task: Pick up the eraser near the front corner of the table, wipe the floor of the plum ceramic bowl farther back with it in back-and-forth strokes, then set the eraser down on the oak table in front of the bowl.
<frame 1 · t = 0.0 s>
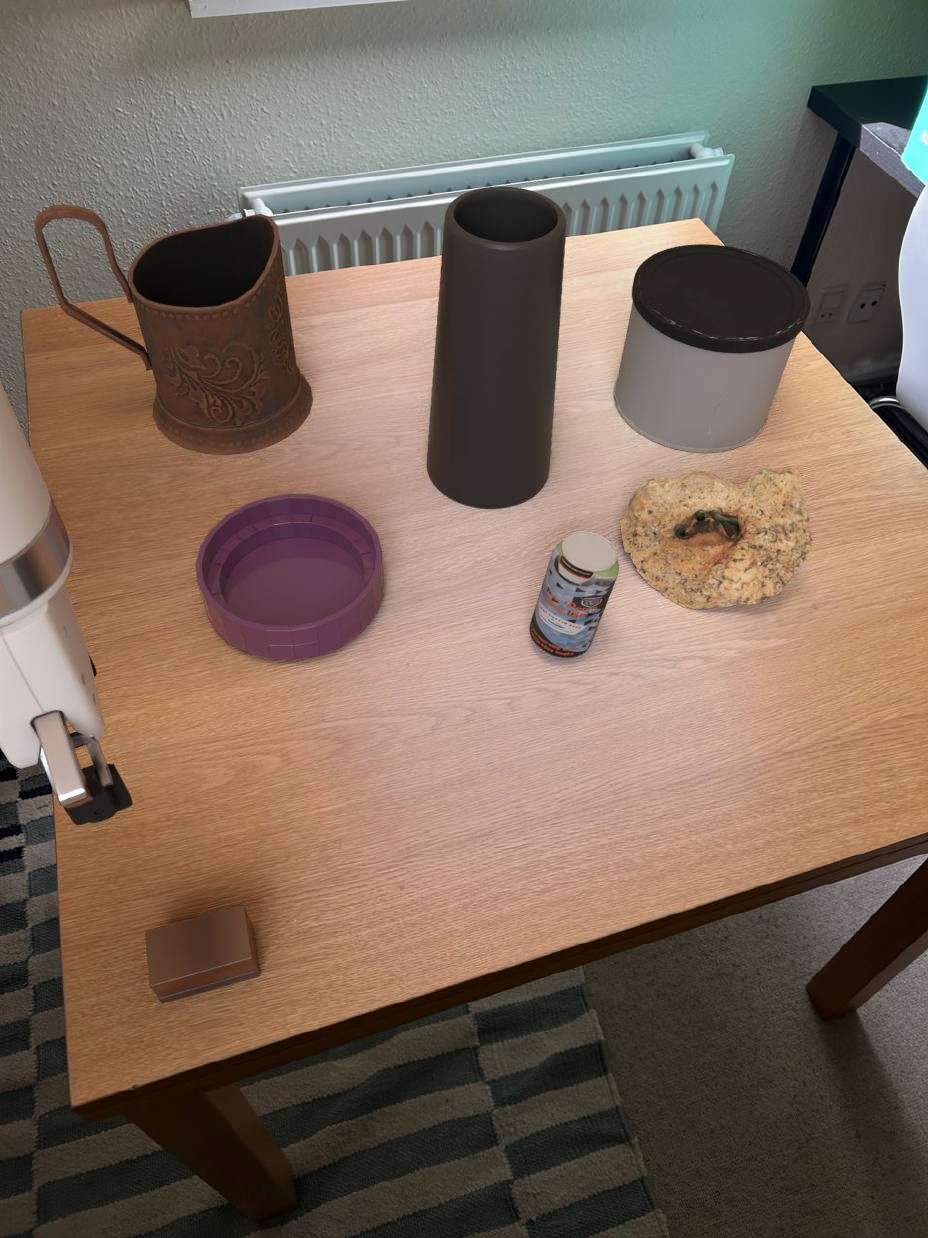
hand: (87, 743, 54), 21 cm above the table, tool pointing down, fingers open, 9 cm apart
vase: (487, 467, 102), on the table
bowl: (295, 592, 90), on the table
beige rock: (703, 565, 94), on the table
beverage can: (564, 638, 87), on the table
container: (689, 402, 110), on the table
cup holder: (209, 407, 107), on the table
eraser: (208, 963, 67), on the table
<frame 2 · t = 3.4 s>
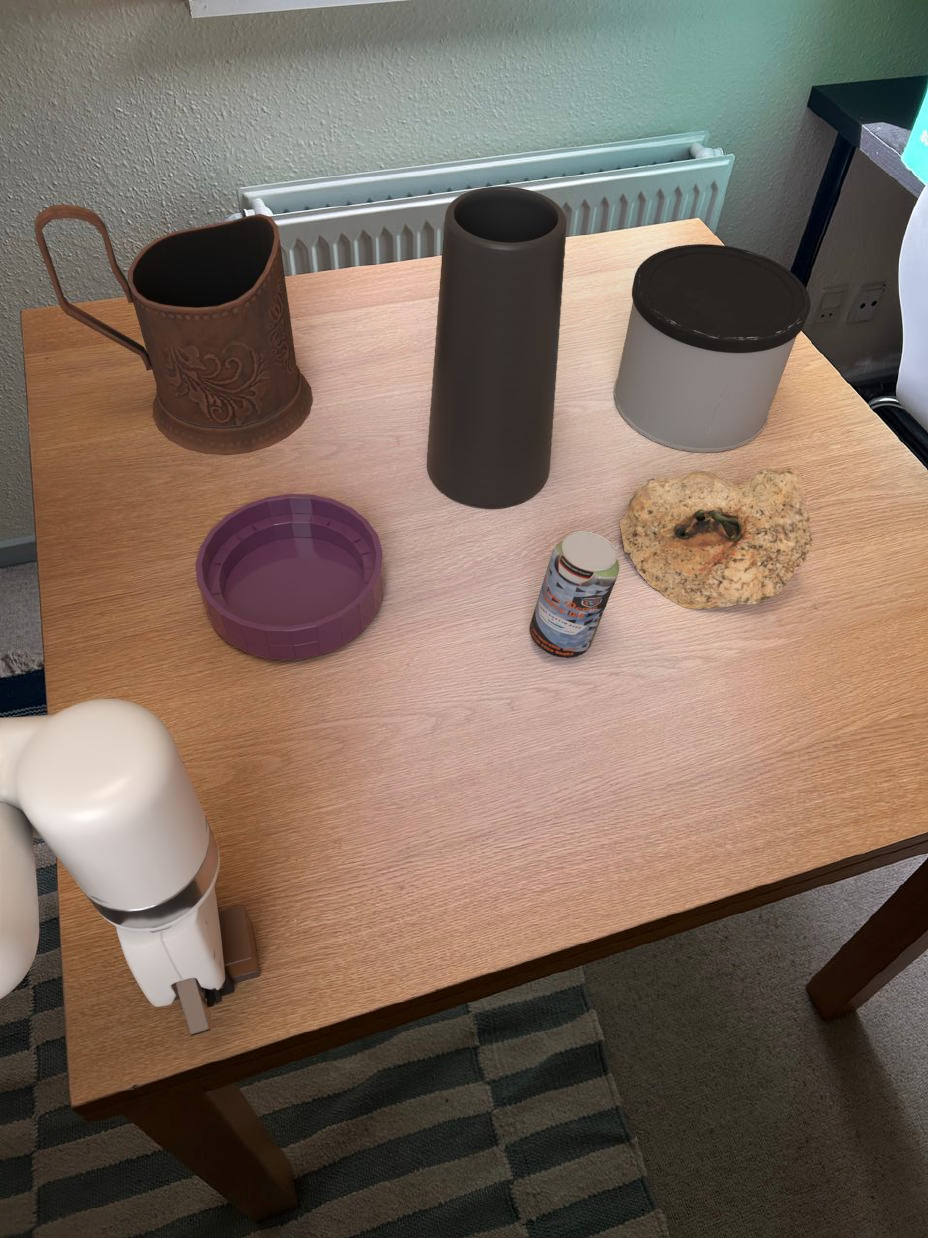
hand: (207, 961, 67), 0 cm above the table, tool pointing down, fingers closed on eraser, 4 cm apart
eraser: (208, 963, 67), on the table, touching gripper
everything else where it was.
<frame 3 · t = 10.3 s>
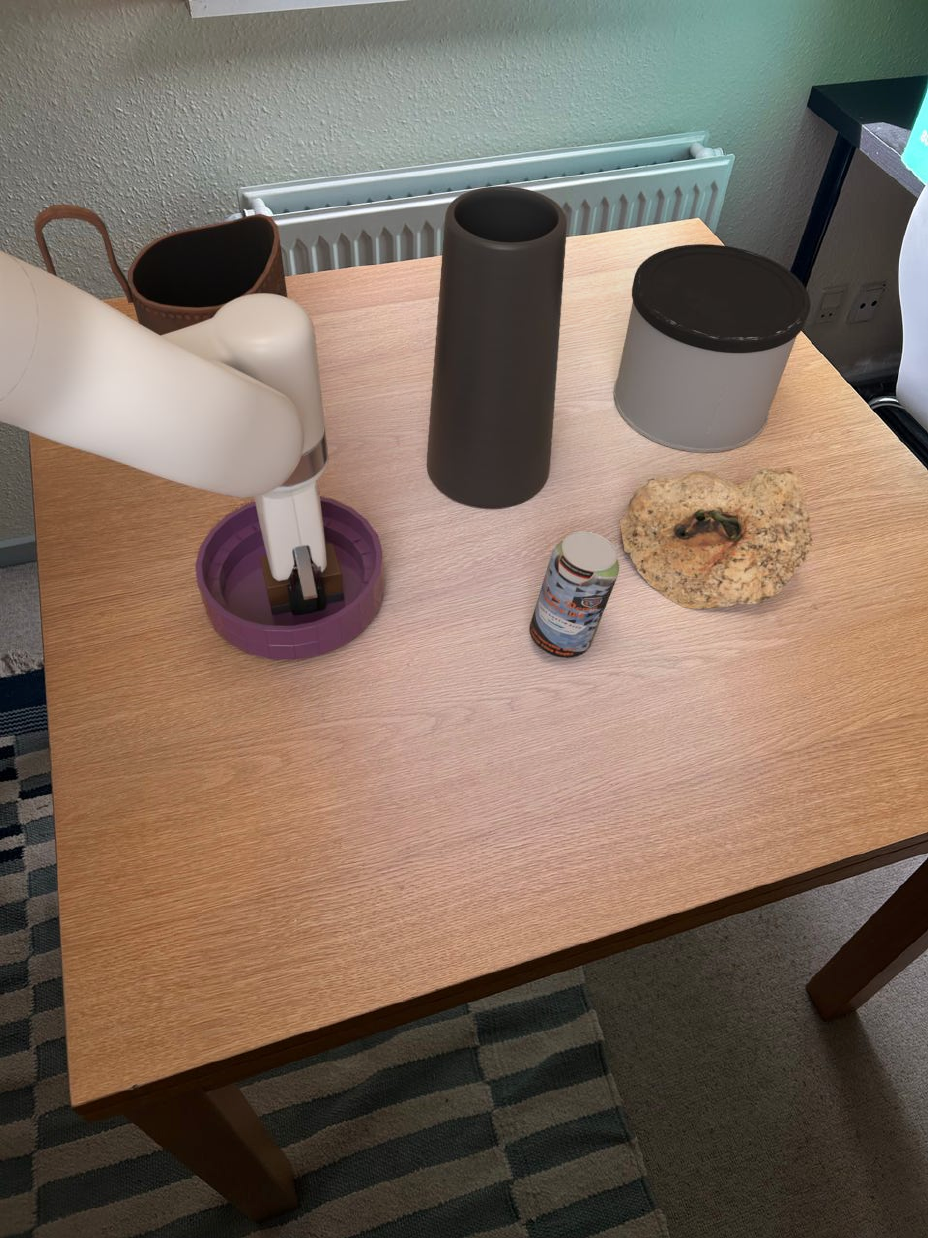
hand: (303, 590, 89), 1 cm above the table, tool pointing down, fingers closed on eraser, 4 cm apart
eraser: (304, 592, 89), point 1 cm above the table, touching gripper
everything else where it was.
when the fingers open (0 cm above the table, at t = 17.2 s): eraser stays where it is, on the table.
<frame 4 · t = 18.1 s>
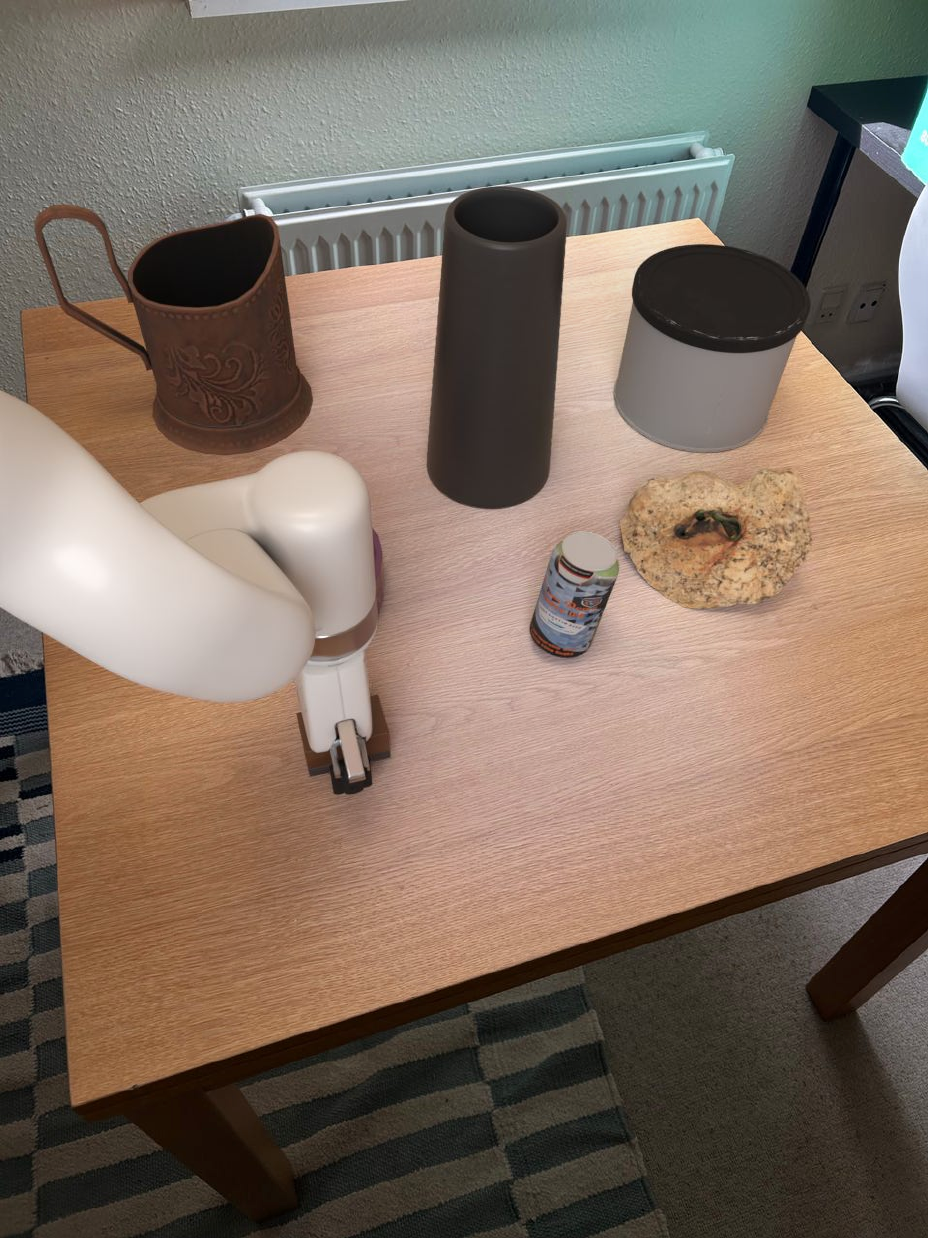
hand: (340, 738, 77), 2 cm above the table, tool pointing down, fingers open, 9 cm apart
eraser: (345, 747, 79), on the table
everything else where it was.
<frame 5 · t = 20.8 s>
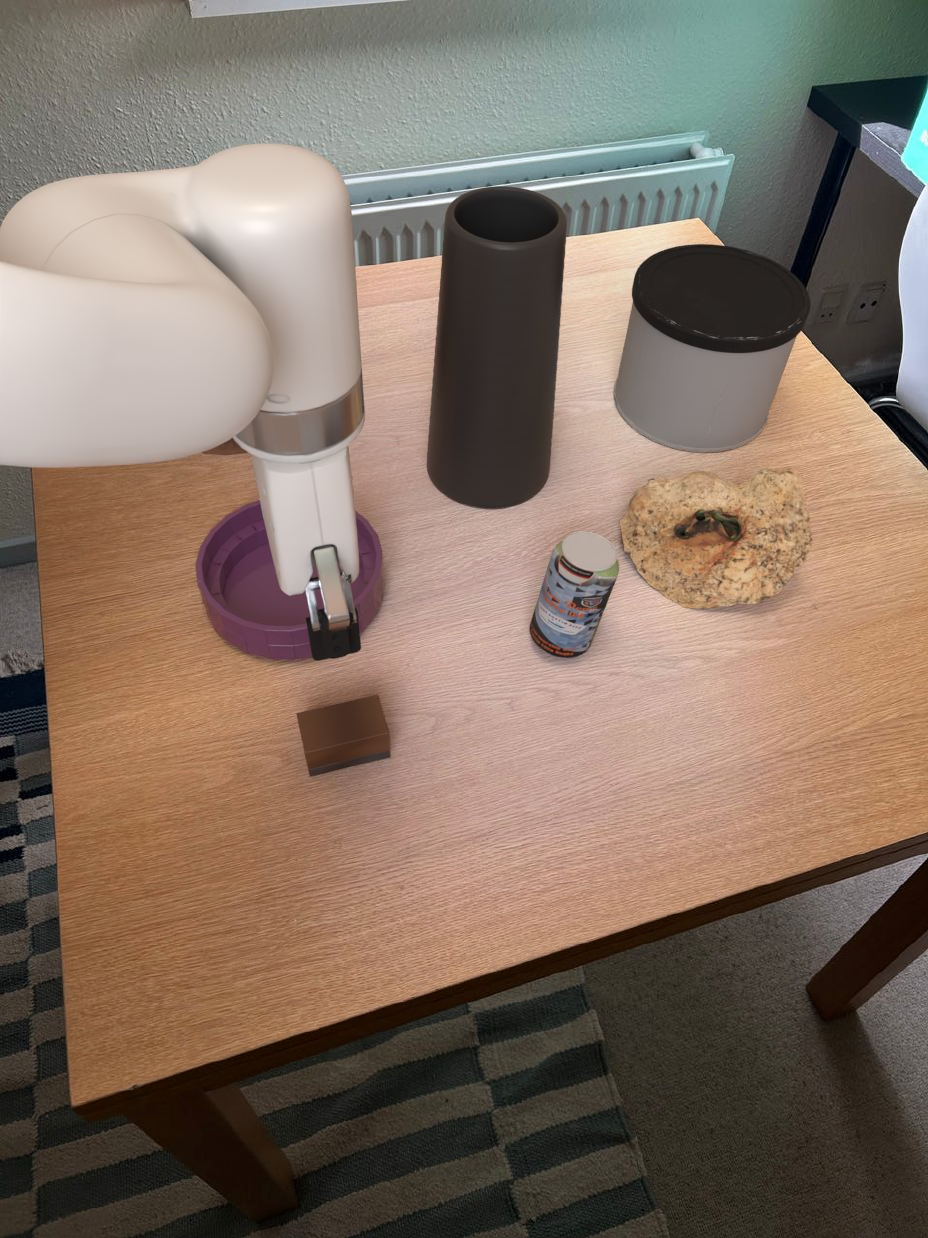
hand: (322, 598, 63), 20 cm above the table, tool pointing down, fingers open, 9 cm apart
nothing on the table moved.
at the end: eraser inside the target area on the table beside the bowl (0.2 cm from its centre), on the table; the gripper is holding nothing; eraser tilted 0° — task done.
